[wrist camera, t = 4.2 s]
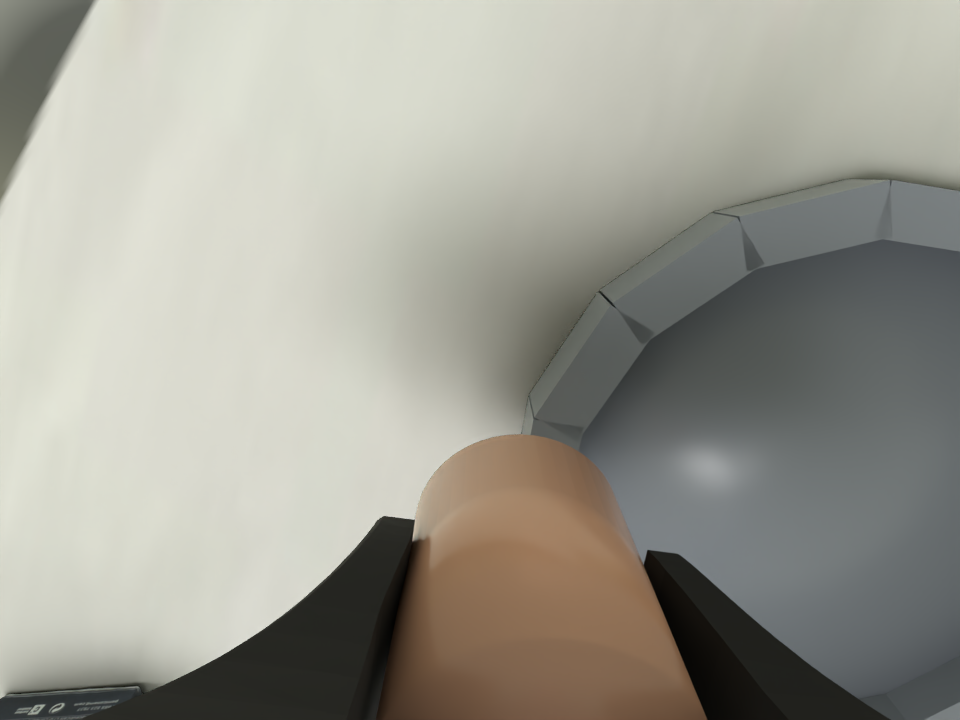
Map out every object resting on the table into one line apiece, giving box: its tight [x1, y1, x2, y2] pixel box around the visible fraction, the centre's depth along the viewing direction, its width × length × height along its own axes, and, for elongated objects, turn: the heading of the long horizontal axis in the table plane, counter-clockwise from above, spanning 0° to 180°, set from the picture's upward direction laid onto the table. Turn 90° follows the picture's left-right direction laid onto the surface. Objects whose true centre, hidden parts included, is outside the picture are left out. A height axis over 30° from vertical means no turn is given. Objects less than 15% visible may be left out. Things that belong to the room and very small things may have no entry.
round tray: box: [521, 179, 960, 720], centre depth 20 cm, size 20×20×2 cm
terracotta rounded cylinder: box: [376, 434, 707, 720], centre depth 11 cm, size 4×4×6 cm
